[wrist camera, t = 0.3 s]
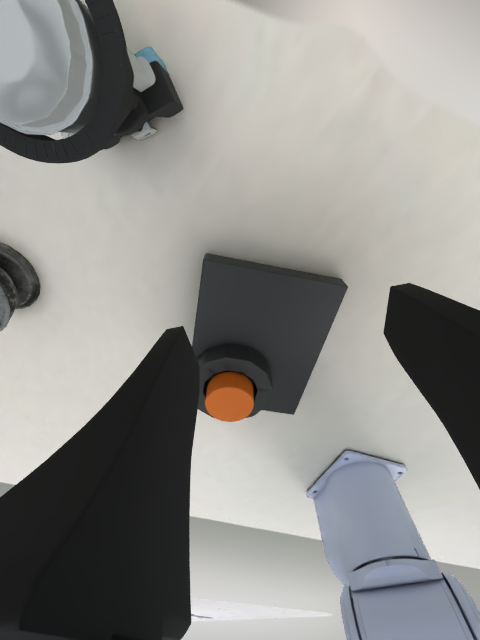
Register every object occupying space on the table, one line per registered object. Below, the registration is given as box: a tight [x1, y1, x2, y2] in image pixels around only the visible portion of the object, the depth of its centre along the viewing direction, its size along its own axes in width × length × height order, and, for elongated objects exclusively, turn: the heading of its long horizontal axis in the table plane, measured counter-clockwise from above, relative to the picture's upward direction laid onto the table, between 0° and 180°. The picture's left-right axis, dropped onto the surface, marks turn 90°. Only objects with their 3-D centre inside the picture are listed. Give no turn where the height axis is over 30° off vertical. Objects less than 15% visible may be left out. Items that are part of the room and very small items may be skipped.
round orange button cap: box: [205, 371, 254, 422], centre depth 21 cm, size 4×4×2 cm
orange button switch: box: [192, 254, 348, 418], centre depth 21 cm, size 13×10×3 cm
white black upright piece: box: [0, 0, 183, 163], centre depth 11 cm, size 7×5×10 cm
